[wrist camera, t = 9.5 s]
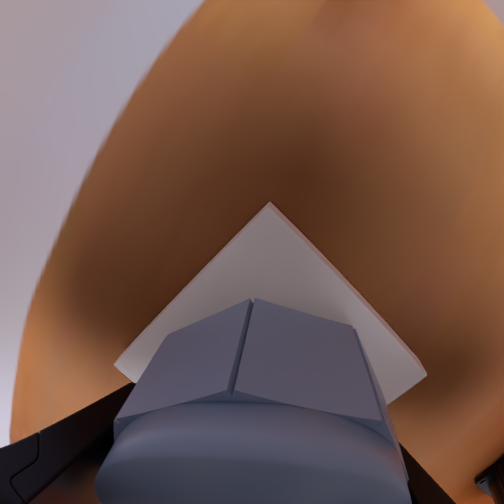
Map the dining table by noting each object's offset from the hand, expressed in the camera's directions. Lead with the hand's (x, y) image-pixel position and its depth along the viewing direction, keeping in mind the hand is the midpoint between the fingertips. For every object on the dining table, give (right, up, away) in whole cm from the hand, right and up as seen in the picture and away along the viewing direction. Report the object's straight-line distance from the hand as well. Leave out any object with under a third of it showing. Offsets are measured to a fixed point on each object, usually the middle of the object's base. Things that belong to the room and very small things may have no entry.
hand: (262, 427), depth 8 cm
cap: (0, 0, +1) cm, 1 cm away
